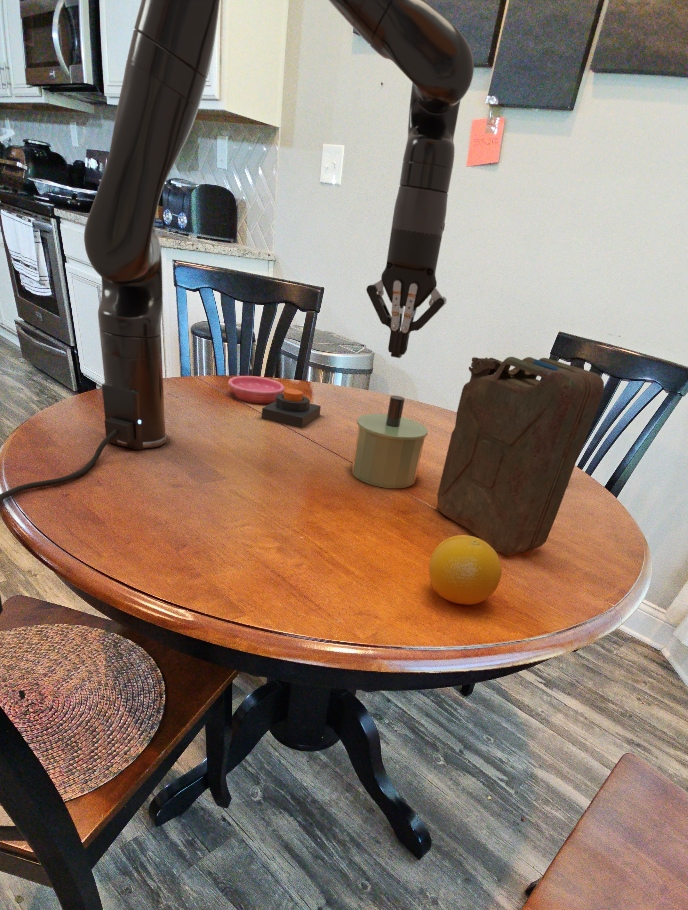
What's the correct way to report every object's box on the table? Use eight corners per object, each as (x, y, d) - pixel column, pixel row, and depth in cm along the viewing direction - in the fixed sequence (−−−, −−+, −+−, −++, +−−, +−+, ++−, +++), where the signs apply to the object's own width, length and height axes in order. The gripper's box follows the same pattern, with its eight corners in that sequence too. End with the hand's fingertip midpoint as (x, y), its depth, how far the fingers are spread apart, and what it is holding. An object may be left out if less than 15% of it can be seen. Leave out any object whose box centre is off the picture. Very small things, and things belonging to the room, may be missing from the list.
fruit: (477, 581, 78) (494, 527, 74) (500, 616, 72) (520, 559, 67) (415, 579, 77) (428, 523, 72) (432, 614, 70) (448, 556, 66)
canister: (547, 553, 88) (615, 378, 74) (508, 562, 84) (571, 378, 69) (465, 502, 100) (510, 342, 86) (428, 507, 96) (467, 340, 82)
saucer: (286, 408, 130) (287, 393, 129) (229, 403, 128) (229, 388, 126) (280, 392, 140) (281, 378, 138) (227, 387, 137) (227, 373, 135)
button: (298, 404, 121) (298, 395, 120) (280, 399, 122) (280, 391, 121) (305, 400, 125) (305, 391, 124) (287, 396, 125) (288, 387, 124)
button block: (301, 428, 120) (303, 408, 118) (261, 418, 122) (262, 398, 120) (319, 416, 129) (321, 397, 127) (282, 407, 131) (283, 388, 128)
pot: (406, 493, 100) (417, 444, 95) (343, 477, 102) (350, 428, 97) (420, 473, 109) (430, 427, 104) (362, 458, 111) (369, 412, 106)
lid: (418, 449, 95) (425, 413, 91) (347, 432, 97) (352, 397, 93) (432, 430, 104) (439, 397, 101) (367, 415, 106) (372, 382, 103)
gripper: (367, 221, 84) (351, 352, 94) (458, 235, 82) (431, 368, 92) (380, 222, 90) (363, 345, 100) (465, 235, 87) (439, 360, 98)
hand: (396, 356), depth 96 cm, fingers closed
